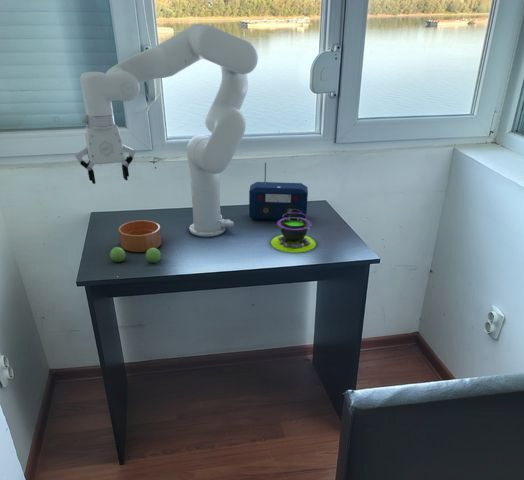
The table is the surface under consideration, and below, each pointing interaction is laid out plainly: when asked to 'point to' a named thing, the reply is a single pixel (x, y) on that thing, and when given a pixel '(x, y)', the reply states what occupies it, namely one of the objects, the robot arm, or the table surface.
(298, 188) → the radio
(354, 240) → the table surface
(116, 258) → the pea ball
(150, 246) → the bowl
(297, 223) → the toy cauldron
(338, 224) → the table surface
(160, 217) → the table surface
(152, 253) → the pea ball
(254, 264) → the table surface
